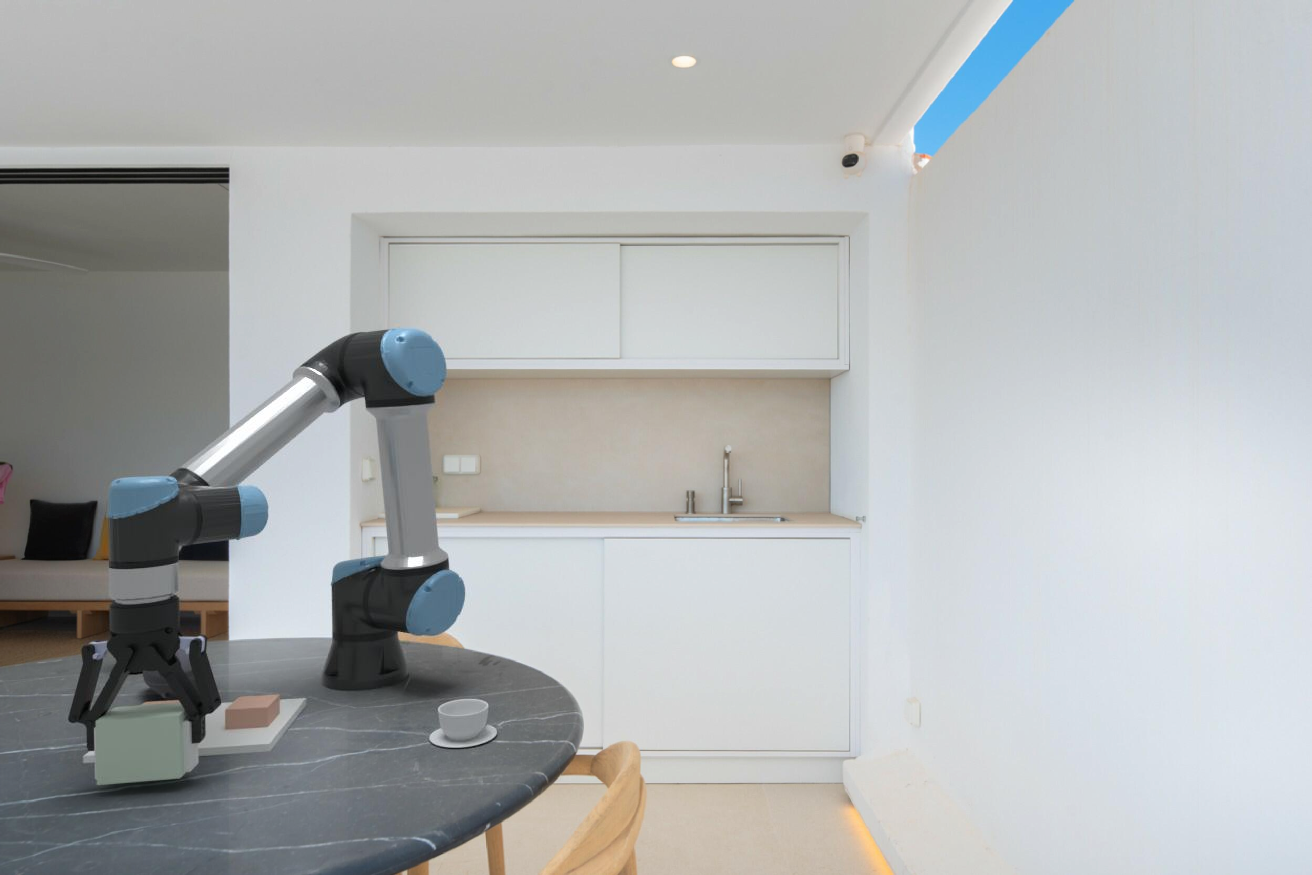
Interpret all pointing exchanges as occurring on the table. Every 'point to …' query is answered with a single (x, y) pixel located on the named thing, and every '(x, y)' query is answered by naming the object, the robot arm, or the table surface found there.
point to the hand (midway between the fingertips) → (147, 770)
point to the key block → (140, 743)
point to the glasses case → (160, 683)
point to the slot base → (241, 735)
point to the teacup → (463, 724)
